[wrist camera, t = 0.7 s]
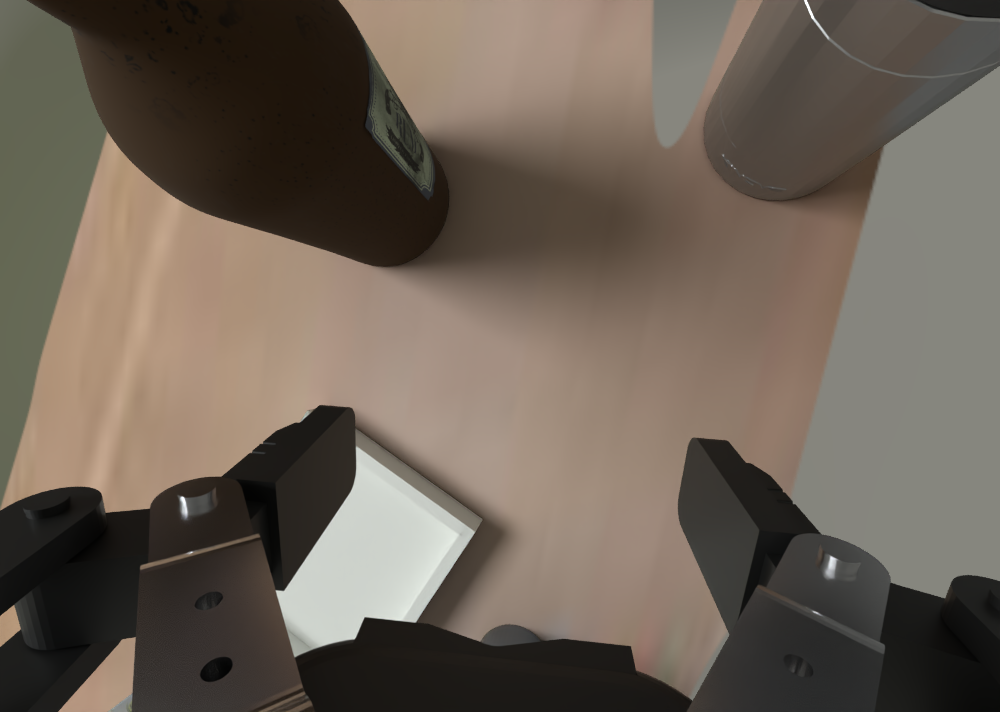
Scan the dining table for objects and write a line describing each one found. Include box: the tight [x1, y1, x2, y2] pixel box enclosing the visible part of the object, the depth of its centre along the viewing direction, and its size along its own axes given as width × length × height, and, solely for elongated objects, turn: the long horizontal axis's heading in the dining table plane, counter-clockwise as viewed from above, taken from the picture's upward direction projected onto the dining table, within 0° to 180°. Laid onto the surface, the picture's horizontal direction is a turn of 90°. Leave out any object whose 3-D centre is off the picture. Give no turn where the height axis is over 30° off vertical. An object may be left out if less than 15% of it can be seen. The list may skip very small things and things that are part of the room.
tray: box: [276, 409, 483, 657], centre depth 35 cm, size 16×14×2 cm
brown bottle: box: [27, 0, 449, 266], centre depth 23 cm, size 11×11×25 cm
